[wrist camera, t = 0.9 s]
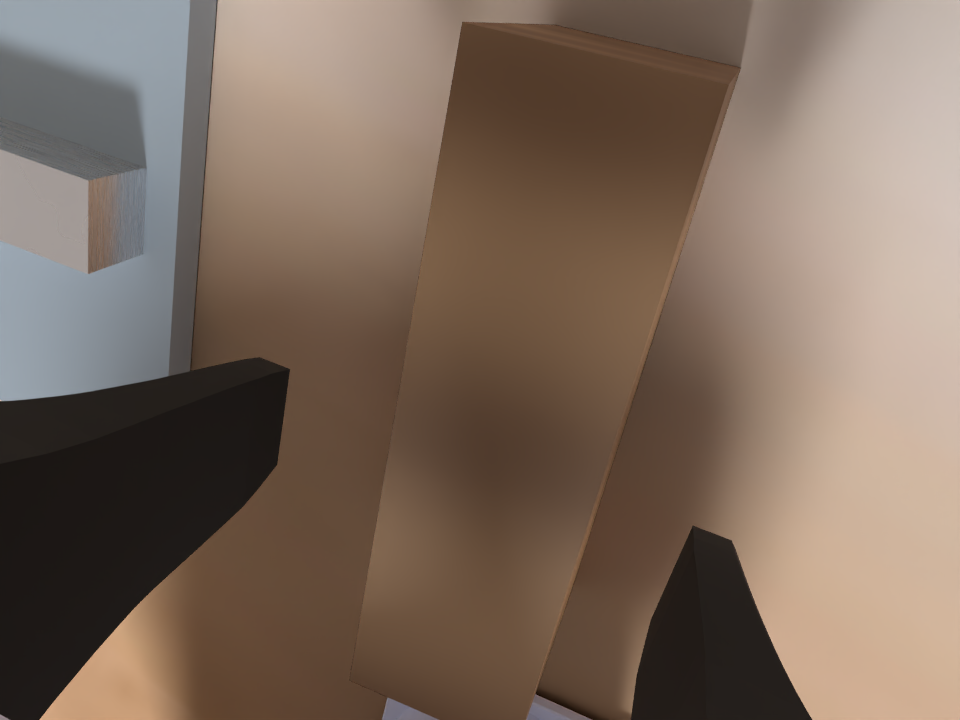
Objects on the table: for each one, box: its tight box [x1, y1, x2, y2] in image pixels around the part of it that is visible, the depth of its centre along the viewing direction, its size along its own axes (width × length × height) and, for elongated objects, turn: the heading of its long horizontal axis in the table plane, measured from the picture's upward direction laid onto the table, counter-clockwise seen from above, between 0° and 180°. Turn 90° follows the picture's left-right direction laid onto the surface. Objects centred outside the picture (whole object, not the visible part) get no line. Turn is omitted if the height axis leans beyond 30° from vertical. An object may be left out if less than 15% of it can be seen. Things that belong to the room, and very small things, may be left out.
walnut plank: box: [349, 22, 740, 720], centre depth 17 cm, size 14×4×6 cm, turn 168°
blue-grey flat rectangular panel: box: [0, 0, 217, 401], centre depth 22 cm, size 16×9×1 cm, turn 166°
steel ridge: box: [0, 117, 147, 274], centre depth 21 cm, size 2×7×2 cm, turn 76°
